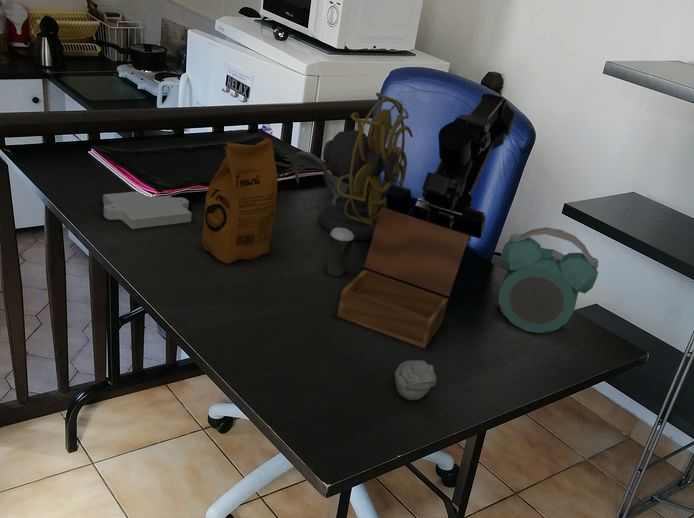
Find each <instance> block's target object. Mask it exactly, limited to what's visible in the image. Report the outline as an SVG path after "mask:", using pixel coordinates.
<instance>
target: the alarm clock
mask: <svg viewBox="0 0 694 518" xmlns="http://www.w3.org/2000/svg"><path fill="white" fill-rule="evenodd" d="M541 235H543V236H544V235H547V236H550V237H554V238H558V239H561V240H564V241H567V242H570V243H571V244H572V245H574V246H575V247H577V248H578V249H579V250H580V251H581V252H567V254H563V253H562V252H561V251H558V250H556V249H553V248H544V247H542V246H541V244H540V242H538V241H536V240H535V239H533V238H532V236H541ZM499 259H500V265H501V268H502V269H505V270H506V273H505V275H504V278H503V280H502V283H501V285H500V288H499V294H498V303H499V306H500V312H502V314H503V315H504V317H505V318H507V319H508V321H509V322H510V323H511V324H512V325H513V326H516V327H518V328H520V329H521V330H523V331H525V332H530V333H537V334H542V333H549V332H554V331H558V330H559V329H560V328H561V327H564V325H566V324H567V323H568V322H569V320H570V318H571V317H572V316H573V314H574V313H575V310H576V305H577V301H578V296H579V293H581V294H586V293H588V292H590V291H591V290H592V289H593V288H594V286H595V284H596V281H597V279H598V275H599V271H598V268H599V260H598V258H597V257H594V256H593V255H592V254H590V252H589V250H588V248H587V246H586V245H585V244H584V243H583V242H582V241H581V240H580V239H579V238H578V237H576V235H574V234H572V233H570V232H568V231H565V230H563V229H559V228H553V227H549V226H546V227H537V228H533V229H531V230H528V231H526V232H524V233H520V234H517V233H513V234H511V235H510V237H509V238H508V240H507V242H506V243H504V245H503V248H502V250H501V254H500V258H499Z"/></svg>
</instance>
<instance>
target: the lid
mask: <svg viewBox="0 0 694 518" xmlns="http://www.w3.org/2000/svg"><path fill="white" fill-rule="evenodd" d="M380 209H381V211H380V214H379V215H378V221H377V224H376V228H375V231H374V235H373V238H371V242H370V245H369V249H368V251H367V255H366V259H365V262H364V265H363V268H365V269H366V270H367V269H368V270H370V271H374V272H375V273H376V272H377V273H379V274H382V275H385V276H387V277H389V278H390V277H391V278H392V279H396V280H399V281H401V282H405V283H407V284H410V285H413V286H415V287H416V286H417V287H418V288H421V289H422V288H423V289H424V290H425V289H426V290H427V291H430V292H434V293H436V294H439V295H441V296H442V295H443V296H446V297H447V298H448V297H450V296H451V294H452V290H453V287H454V284H455V282H456V278H457V275H458V272H459V269H460V267H461V263H462V260H463V258H464V254H465V250H466V248H467V245H468V242H469V241H468V239H469V236H470V235H468V234H464V233H461V232H458V231H455V230H452V229H449V228H446V227H443V226H440V225H437V224H434V223H431V222H427V221H424V220H421V219H418V218H415V217H413V215H409V214H407V213H404V214H403V213H400V212H397V211H394V210H390V209H389V208H384V207H380Z"/></svg>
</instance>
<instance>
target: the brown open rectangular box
mask: <svg viewBox="0 0 694 518" xmlns="http://www.w3.org/2000/svg"><path fill="white" fill-rule="evenodd" d="M448 302H449V298H448V297H444V296H442V295H440V294H439V295H438V294H437V293H433V292H431V291H429V290H425V289H422V288H420V287H416V286H414V285H411V284H408V283H406V282H405V283H404V282H403V281H400V280H399V281H398V280H397V279H396V280H395V279H394V278H390V277H388V276H384V275H381V274H380V273H379V274H378V273H376V272H372V271H371V270H370V271H369V270H367V269H363V270H362V271H360V272H359V274H358V275H357V276H355V278H353V279H352V280H351V281H350V282H349V283H348V284H347V285H346V286H345V287H344V288H342V290H341V294H340V299H339V303H338V308H337V313H336V317H337V318H341V319H343V320H345V321H348V322H351V323H354V324H357V325H359V326H362V327H365V328H368V329H371V330H373V331H376V332H377V333H378V332H379V333H381V334H384V335H387V336H389V337H393V338H395V339H397V340H400V341H403V342H406V343H409V344H412V345H414V346H416V347H419V348H422V349H426V347H427V346H428V344H429V343H430V341H431V340H432V339H433V337H434V335H435V334H436V333H437V332H438V330H439V329H440V327H441V325H442V324H443V321H444V316H445V313H446V309H447V306H448V304H449V303H448Z"/></svg>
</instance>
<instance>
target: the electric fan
mask: <svg viewBox="0 0 694 518" xmlns="http://www.w3.org/2000/svg"><path fill="white" fill-rule="evenodd" d="M375 96H376V97H377V98H378V99H379V101H378V102H376V103H375V104H374V105H373V107H372V108H371V109H370V110H369V112H368V113H367V114H366V117H365V118H364V119H361V118H360V115H359V113H358V112H357V111H356V112H352V113H351V114H350V119H352V120H353V121H354V122H355V123H357V129H352V130H348V131H339V132H338V133H337V134H335V135H334V136H333V137H332V139H330V140H328V141H327V142H325V145H324V147H323V153H322V159H323V160H321V159H320V158H319V157H318V156H317V155H315V154H313V153H311V152H310V151H305V150H301V151H298V152H296V153H295V154H294V156H293V159H292V167H293V172H294V176H295V180H296V184H297V185H299V184H300V174H299V169H298V159H299V158H300V156H305V157H308V158H311V160H313V161H315V163H317V164H319V166H320V168H321V170H322V173H323V177H324V178H323V179H324V182H325V185H326V187H327V189H328V190H329V192H330V193H331V195H333V196H332V199H331V205H328V206H326V207H323V208H322V209H321V210H320V213H319V215H318V216H319V217H318V218H319V219H318V222H319V225H320V227H321V228H322V229H323V230H324V231H325V232H327V233H328V234H330V233H331V231H332V230H333V229H334V228H346V229H348V230H349V231H351V232H352V233H353V235H354V236H355V237H354V239H353V241H366V240H372V238H373V235H374V231H375V228H376V224H377V221H378V217H379V214H380V211H381V207H384V208H387V209H389V208H388V206H387V201H386V196H385V197H383V194H384V193H386V192H387V190H388V188H389V187H390V186H392V185H393V184H395V185H398V184H399V185H398V186H401V187H404V182H405V178H406V173H407V169H408V158H407V154H406V151H405V143H406V138H405V137H406V136H405V135H406V133H405V131H407V133H408V134H409V136H410V138H413V137H414V135H413V132H412V130H411V128H410V126H408V125H405V122H404V120H406V119H409V118H410V115H409V113H408V111H407V110H406V109H405V108H404V106H403V104H402V103H401V102H399V99H395V98H393V97H390V96H388V95H384V94H382V93H380V92H376V93H375ZM387 102H389V103H392V104H393V106H391V108H390V109H386V108H385V109H382V107H383V103H387ZM377 107H378V109H377ZM395 108H396V110H397V112H398V115H397V116H396V118H395V121H394V122H393V124H392V120H393V119H392V112H391V111H393V110H394V109H395ZM376 109H377V112H376V114H375V117H374V118H373V120H372V121H371V120H369V118H370V117H371V115H372V114H373V112H374V110H376ZM404 113H405V115H403V114H404ZM365 125H370V126H369V129H368V135H367V134H366V133H365ZM399 126H400V127H399ZM400 135H401V147H400V146H397V145H398V141H399V137H400ZM323 161H324V162H325V163H326V164H327V165H328V169H327V167H326V165H325V163H324V162H323ZM328 170H329V171H330V173H331V174H332V176H333V177H336V178H338V181H337V184H336V190H337V192H336V191H335V189H334V188H333V186H332V184H331V183H330V178H329V174H328ZM382 173H383V179H382V177H381V175H382ZM399 177H400V180H399ZM398 180H399V181H398ZM382 181H383V182H382ZM342 183H344V184H347V185H348V187H347V190H346V192H343V191H342V190H341V184H342ZM342 198H343V199H342ZM338 199H342V200H340V201H338ZM337 201H338V203H336V202H337ZM359 229H360V230H359ZM357 232H358V233H357ZM356 233H357V234H356Z"/></svg>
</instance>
